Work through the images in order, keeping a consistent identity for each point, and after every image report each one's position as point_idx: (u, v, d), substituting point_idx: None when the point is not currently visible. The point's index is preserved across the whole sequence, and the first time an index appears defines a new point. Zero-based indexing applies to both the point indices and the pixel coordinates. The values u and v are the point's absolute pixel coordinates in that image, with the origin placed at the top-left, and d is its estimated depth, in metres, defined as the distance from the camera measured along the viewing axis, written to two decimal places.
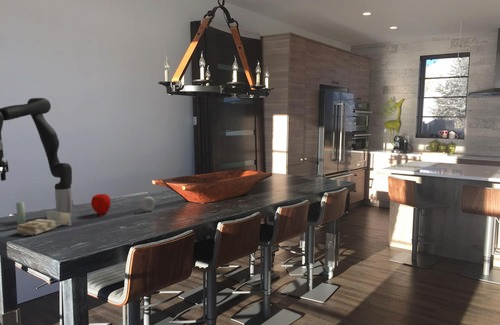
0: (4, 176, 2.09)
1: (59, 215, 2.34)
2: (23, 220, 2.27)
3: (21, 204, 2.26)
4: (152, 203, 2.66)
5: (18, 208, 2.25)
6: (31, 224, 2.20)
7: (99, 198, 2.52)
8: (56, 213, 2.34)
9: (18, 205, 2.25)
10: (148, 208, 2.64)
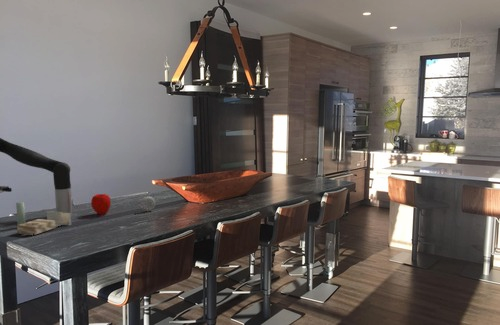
0: None
1: (59, 215, 2.34)
2: (23, 220, 2.27)
3: (21, 204, 2.26)
4: (152, 203, 2.66)
5: (18, 208, 2.25)
6: (31, 224, 2.20)
7: (99, 198, 2.52)
8: (56, 213, 2.34)
9: (18, 205, 2.25)
10: (148, 208, 2.64)
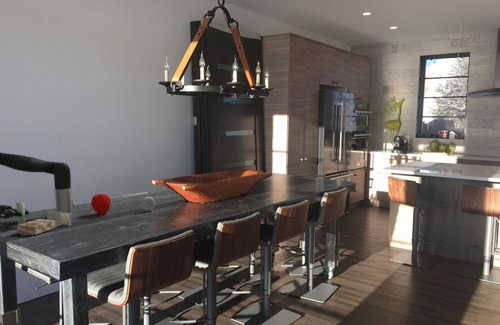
0: (17, 214, 2.24)
1: (59, 215, 2.34)
2: (23, 220, 2.27)
3: (21, 204, 2.26)
4: (152, 203, 2.66)
5: (18, 208, 2.25)
6: (31, 224, 2.20)
7: (99, 198, 2.52)
8: (56, 213, 2.34)
9: (18, 205, 2.25)
10: (148, 208, 2.64)
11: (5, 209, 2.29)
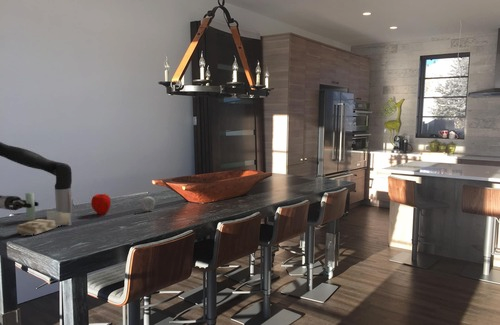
0: (26, 205, 2.12)
1: (59, 215, 2.34)
2: (32, 212, 2.15)
3: (31, 195, 2.14)
4: (152, 203, 2.66)
5: (27, 199, 2.13)
6: (31, 224, 2.20)
7: (99, 198, 2.52)
8: (56, 213, 2.34)
9: (27, 196, 2.13)
10: (148, 208, 2.64)
11: (13, 200, 2.17)
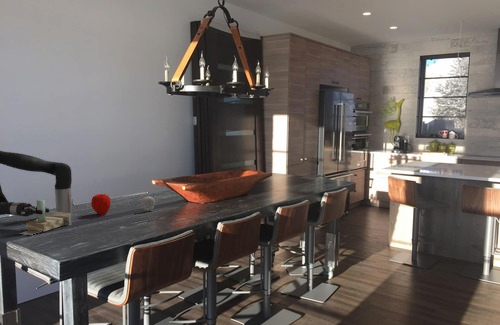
0: (37, 212, 2.19)
1: (59, 215, 2.34)
2: (43, 218, 2.22)
3: (41, 201, 2.20)
4: (152, 203, 2.66)
5: (38, 206, 2.20)
6: None
7: (99, 198, 2.52)
8: (56, 213, 2.34)
9: (38, 202, 2.20)
10: (148, 208, 2.64)
11: (25, 207, 2.24)
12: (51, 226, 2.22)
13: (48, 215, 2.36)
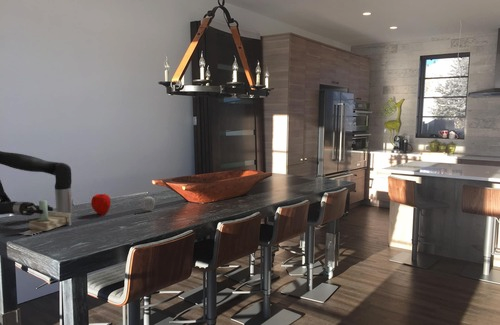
0: (38, 211, 2.20)
1: (59, 215, 2.34)
2: (46, 218, 2.24)
3: (44, 202, 2.22)
4: (152, 203, 2.66)
5: (41, 206, 2.22)
6: None
7: (99, 198, 2.52)
8: (56, 213, 2.34)
9: (41, 203, 2.22)
10: (148, 208, 2.64)
11: (28, 206, 2.26)
12: (54, 225, 2.24)
13: (48, 215, 2.36)
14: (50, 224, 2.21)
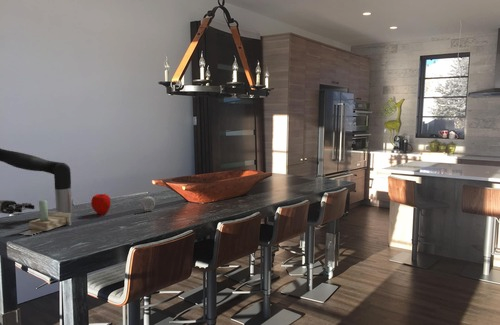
0: (16, 210, 2.24)
1: (59, 215, 2.34)
2: (46, 218, 2.24)
3: (44, 202, 2.22)
4: (152, 203, 2.66)
5: (41, 206, 2.22)
6: None
7: (99, 198, 2.52)
8: (56, 213, 2.34)
9: (41, 203, 2.22)
10: (148, 208, 2.64)
11: (9, 204, 2.30)
12: (54, 225, 2.24)
13: (48, 215, 2.36)
14: (50, 224, 2.21)
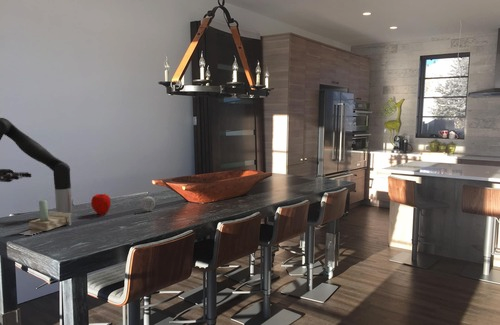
0: (13, 177, 2.27)
1: (59, 215, 2.34)
2: (46, 218, 2.24)
3: (44, 202, 2.22)
4: (152, 203, 2.66)
5: (41, 206, 2.22)
6: None
7: (99, 198, 2.52)
8: (56, 213, 2.34)
9: (41, 203, 2.22)
10: (148, 208, 2.64)
11: (6, 172, 2.34)
12: (54, 225, 2.24)
13: (48, 215, 2.36)
14: (50, 224, 2.21)
